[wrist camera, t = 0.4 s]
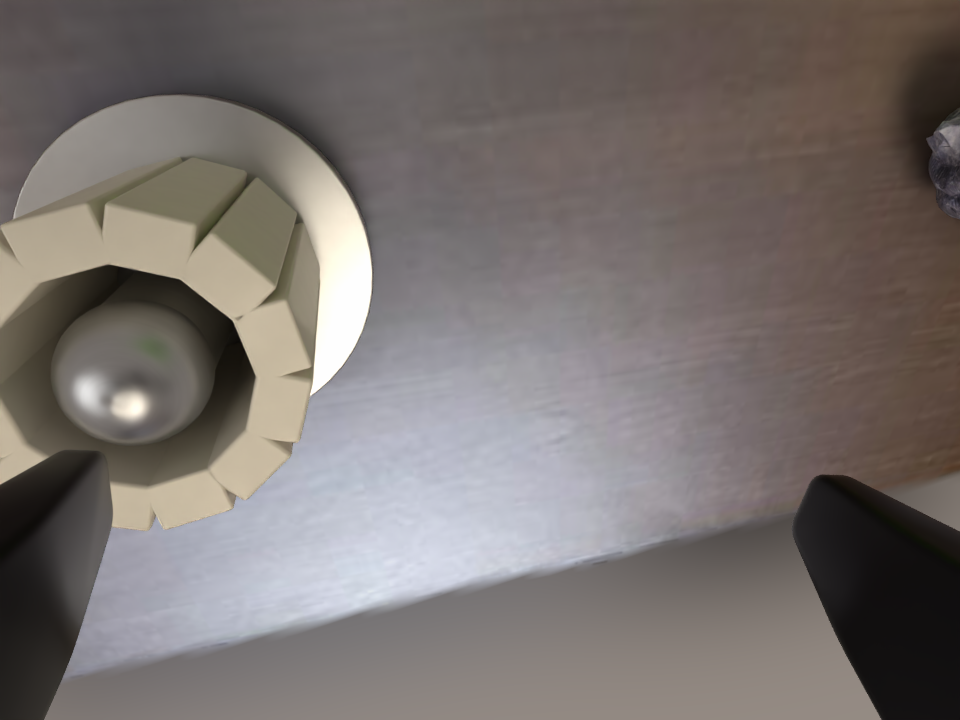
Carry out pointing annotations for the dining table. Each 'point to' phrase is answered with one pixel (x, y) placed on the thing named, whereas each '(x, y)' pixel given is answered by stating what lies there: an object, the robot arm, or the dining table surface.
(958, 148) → the seashell
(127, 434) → the stand
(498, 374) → the dining table surface
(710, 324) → the dining table surface
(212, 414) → the beige fluted tube
